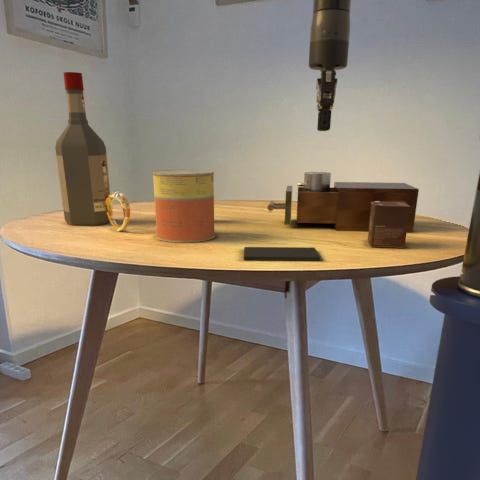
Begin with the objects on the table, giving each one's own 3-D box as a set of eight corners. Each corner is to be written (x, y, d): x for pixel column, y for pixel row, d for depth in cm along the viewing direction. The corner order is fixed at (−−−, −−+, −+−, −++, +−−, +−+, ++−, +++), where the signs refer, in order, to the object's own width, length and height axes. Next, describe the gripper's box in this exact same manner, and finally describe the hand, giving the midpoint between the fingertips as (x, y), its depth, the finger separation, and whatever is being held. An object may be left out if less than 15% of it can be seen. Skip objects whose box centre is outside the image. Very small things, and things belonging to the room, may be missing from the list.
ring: (135, 232, 94) (132, 191, 91) (120, 234, 92) (117, 192, 89) (118, 227, 99) (115, 188, 96) (104, 229, 97) (100, 189, 94)
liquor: (62, 225, 101) (41, 70, 90) (75, 218, 110) (58, 75, 99) (104, 225, 101) (88, 70, 90) (114, 219, 110) (101, 76, 99)
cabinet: (335, 230, 97) (339, 187, 94) (331, 219, 110) (334, 181, 107) (413, 232, 96) (419, 188, 93) (399, 221, 108) (404, 182, 105)
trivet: (314, 250, 80) (314, 247, 79) (320, 260, 73) (320, 257, 73) (244, 250, 80) (244, 246, 80) (243, 260, 73) (243, 256, 73)
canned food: (226, 236, 91) (226, 171, 87) (183, 245, 83) (180, 175, 79) (188, 229, 98) (185, 169, 94) (144, 236, 90) (139, 171, 86)
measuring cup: (295, 216, 101) (297, 173, 98) (296, 213, 106) (297, 171, 103) (328, 217, 100) (331, 173, 97) (327, 213, 106) (330, 172, 102)
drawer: (266, 223, 99) (266, 190, 97) (269, 215, 111) (270, 185, 108) (354, 226, 97) (357, 192, 95) (348, 216, 109) (351, 186, 106)
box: (405, 248, 81) (410, 205, 79) (369, 247, 82) (373, 204, 80) (400, 241, 87) (405, 201, 84) (367, 240, 88) (371, 200, 85)
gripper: (352, 33, 84) (344, 130, 90) (345, 47, 97) (339, 131, 103) (310, 33, 85) (305, 130, 91) (309, 47, 98) (304, 130, 104)
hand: (323, 130), depth 97 cm, fingers open, 8 cm apart
